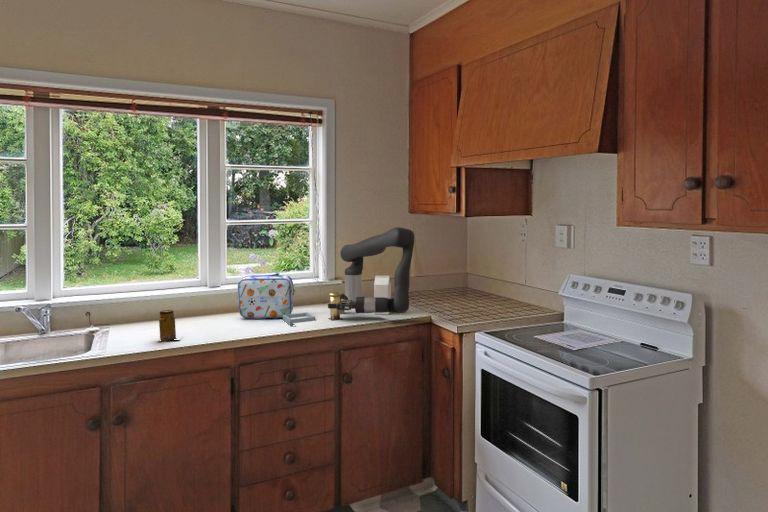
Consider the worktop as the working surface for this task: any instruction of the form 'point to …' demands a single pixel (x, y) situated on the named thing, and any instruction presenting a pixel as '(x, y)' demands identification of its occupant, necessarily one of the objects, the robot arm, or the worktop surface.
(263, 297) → the lunch box
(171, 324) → the condiment
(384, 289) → the milk carton
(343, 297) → the tensioner bracket
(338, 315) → the pin
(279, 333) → the worktop surface
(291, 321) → the grey open frame
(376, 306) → the robot arm
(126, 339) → the worktop surface
